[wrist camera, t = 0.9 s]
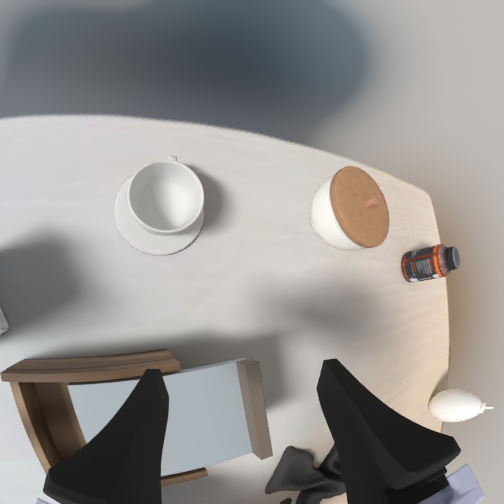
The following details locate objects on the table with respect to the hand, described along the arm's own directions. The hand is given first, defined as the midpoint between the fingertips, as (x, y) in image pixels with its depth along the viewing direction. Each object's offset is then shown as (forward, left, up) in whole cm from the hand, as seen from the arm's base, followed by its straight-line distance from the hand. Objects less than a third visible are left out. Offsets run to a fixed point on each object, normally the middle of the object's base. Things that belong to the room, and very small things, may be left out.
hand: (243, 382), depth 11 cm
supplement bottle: (+3, -44, -17) cm, 47 cm away
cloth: (-29, -16, -18) cm, 37 cm away
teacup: (+14, 0, -17) cm, 22 cm away
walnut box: (-7, +9, -17) cm, 20 cm away
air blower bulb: (-31, -52, -17) cm, 63 cm away
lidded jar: (+12, -23, -17) cm, 31 cm away
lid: (-7, +3, -12) cm, 14 cm away
